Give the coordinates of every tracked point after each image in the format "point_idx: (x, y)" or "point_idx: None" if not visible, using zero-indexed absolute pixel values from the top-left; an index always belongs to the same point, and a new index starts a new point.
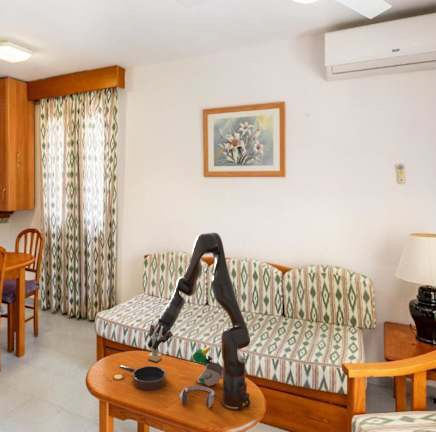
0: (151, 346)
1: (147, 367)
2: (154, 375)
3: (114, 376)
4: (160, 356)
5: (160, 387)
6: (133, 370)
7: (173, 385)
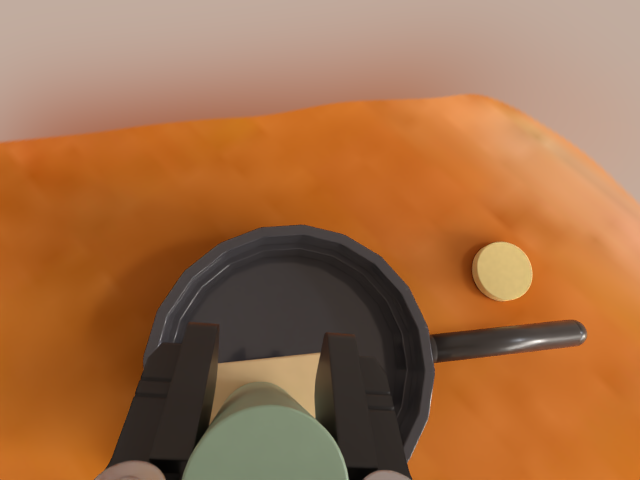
0: (316, 410)
1: None
2: None
3: (523, 253)
4: None
5: None
6: (449, 337)
7: None
